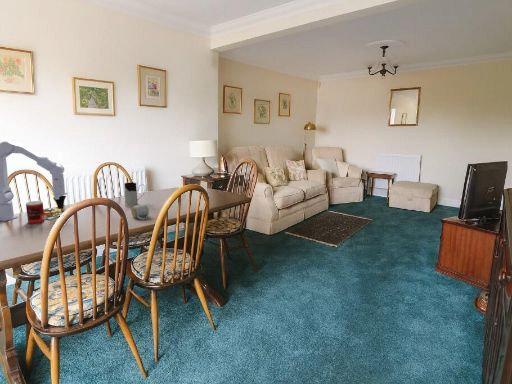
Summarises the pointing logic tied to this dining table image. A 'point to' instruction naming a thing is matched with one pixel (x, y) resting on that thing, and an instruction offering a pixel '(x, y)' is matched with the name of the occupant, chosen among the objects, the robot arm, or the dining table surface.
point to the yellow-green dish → (54, 211)
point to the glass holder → (131, 194)
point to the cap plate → (51, 215)
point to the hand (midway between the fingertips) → (60, 208)
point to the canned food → (35, 212)
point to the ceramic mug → (140, 211)
